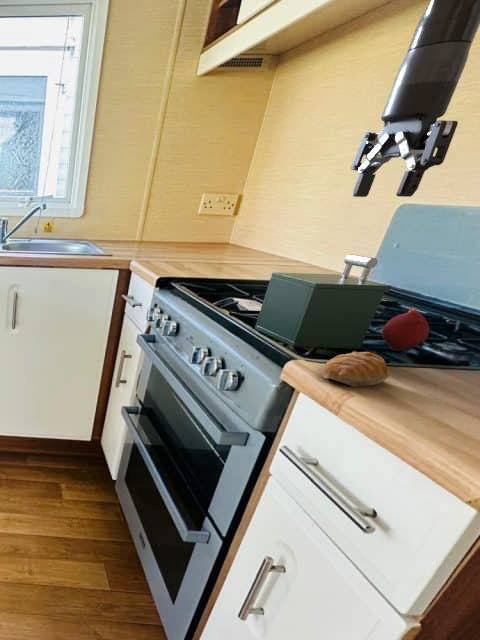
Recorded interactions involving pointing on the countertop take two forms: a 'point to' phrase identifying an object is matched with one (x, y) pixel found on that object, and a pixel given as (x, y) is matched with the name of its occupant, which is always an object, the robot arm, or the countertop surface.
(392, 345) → the onion
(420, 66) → the robot arm
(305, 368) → the countertop surface
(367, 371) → the pastry
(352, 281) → the lid
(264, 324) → the box
